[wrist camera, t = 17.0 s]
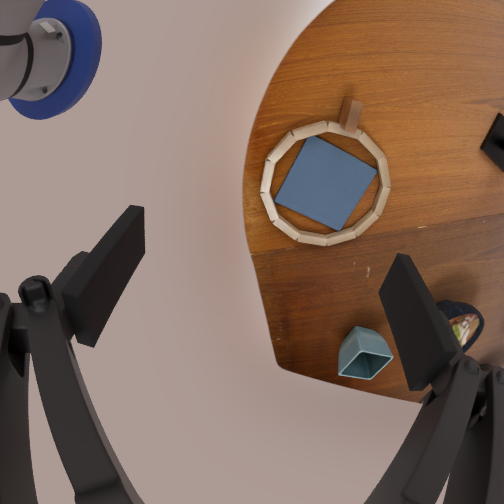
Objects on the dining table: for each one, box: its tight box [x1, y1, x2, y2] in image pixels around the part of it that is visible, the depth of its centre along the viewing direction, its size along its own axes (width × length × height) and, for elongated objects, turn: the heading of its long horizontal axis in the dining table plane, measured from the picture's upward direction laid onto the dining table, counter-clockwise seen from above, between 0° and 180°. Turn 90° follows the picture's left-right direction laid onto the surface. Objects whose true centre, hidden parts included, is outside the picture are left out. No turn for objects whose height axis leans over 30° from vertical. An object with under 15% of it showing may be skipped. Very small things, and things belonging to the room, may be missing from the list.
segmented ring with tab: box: [260, 97, 391, 246], centre depth 42 cm, size 24×20×4 cm
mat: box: [274, 135, 377, 231], centre depth 45 cm, size 12×12×1 cm
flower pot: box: [338, 326, 393, 380], centre depth 60 cm, size 9×9×9 cm
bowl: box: [436, 300, 484, 353], centre depth 55 cm, size 17×17×10 cm
